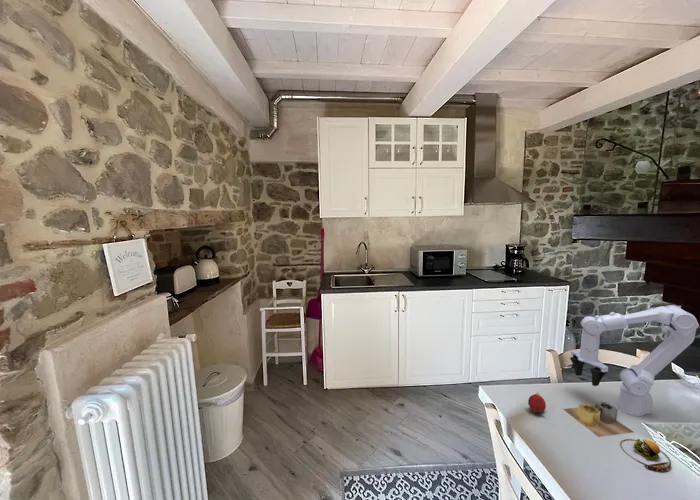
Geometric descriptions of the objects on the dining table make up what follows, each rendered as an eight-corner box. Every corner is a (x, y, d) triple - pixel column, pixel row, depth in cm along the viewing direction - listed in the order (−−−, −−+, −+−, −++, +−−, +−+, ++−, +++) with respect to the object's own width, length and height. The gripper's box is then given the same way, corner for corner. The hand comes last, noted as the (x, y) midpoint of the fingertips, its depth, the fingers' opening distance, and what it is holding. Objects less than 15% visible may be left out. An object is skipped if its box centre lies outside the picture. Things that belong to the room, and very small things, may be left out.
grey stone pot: (604, 413, 118) (605, 401, 118) (618, 422, 113) (619, 410, 112) (592, 415, 118) (593, 402, 117) (605, 424, 112) (606, 411, 112)
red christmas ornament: (547, 418, 118) (549, 398, 117) (530, 416, 119) (532, 396, 118) (541, 408, 124) (542, 389, 123) (525, 406, 125) (526, 387, 124)
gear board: (594, 408, 123) (595, 398, 123) (634, 435, 109) (635, 424, 108) (562, 412, 121) (563, 401, 121) (598, 440, 107) (599, 428, 106)
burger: (619, 438, 108) (621, 418, 107) (668, 455, 100) (671, 433, 99) (620, 460, 98) (622, 438, 97) (673, 480, 91) (677, 457, 90)
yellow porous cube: (588, 415, 117) (589, 403, 117) (601, 425, 112) (602, 412, 111) (575, 417, 116) (576, 404, 116) (588, 426, 111) (589, 413, 111)
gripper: (565, 340, 130) (562, 371, 132) (597, 356, 116) (594, 391, 118) (580, 339, 131) (577, 370, 133) (614, 355, 117) (610, 389, 119)
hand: (586, 380), depth 125 cm, fingers open, 7 cm apart
